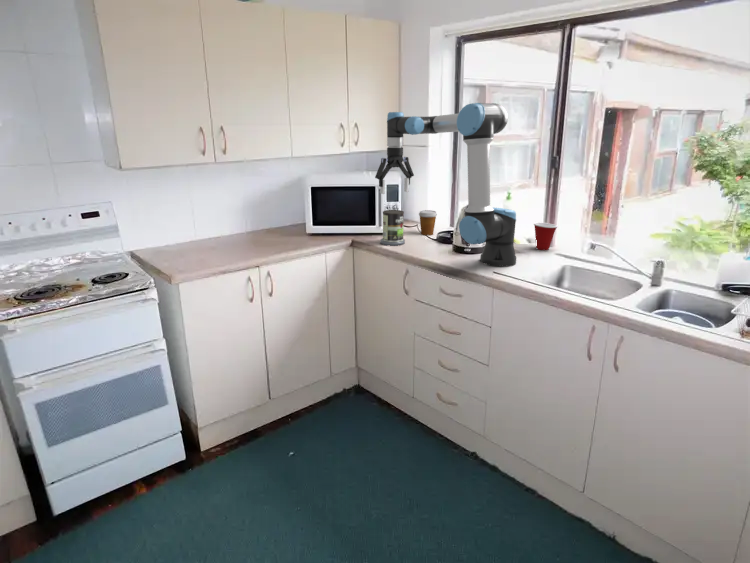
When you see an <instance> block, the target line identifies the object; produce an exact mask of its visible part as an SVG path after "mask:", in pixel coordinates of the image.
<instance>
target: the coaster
mask: <svg viewBox="0 0 750 563" xmlns="http://www.w3.org/2000/svg"><path fill="white" fill-rule="evenodd" d="M405 242H406V239H404V238H403V241H400V242H386V241H383V237H382V238H380V245H383V244H384V246H387V245H390V246H389V247H398V245H399V246H403V245H404V244H405Z"/></svg>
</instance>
